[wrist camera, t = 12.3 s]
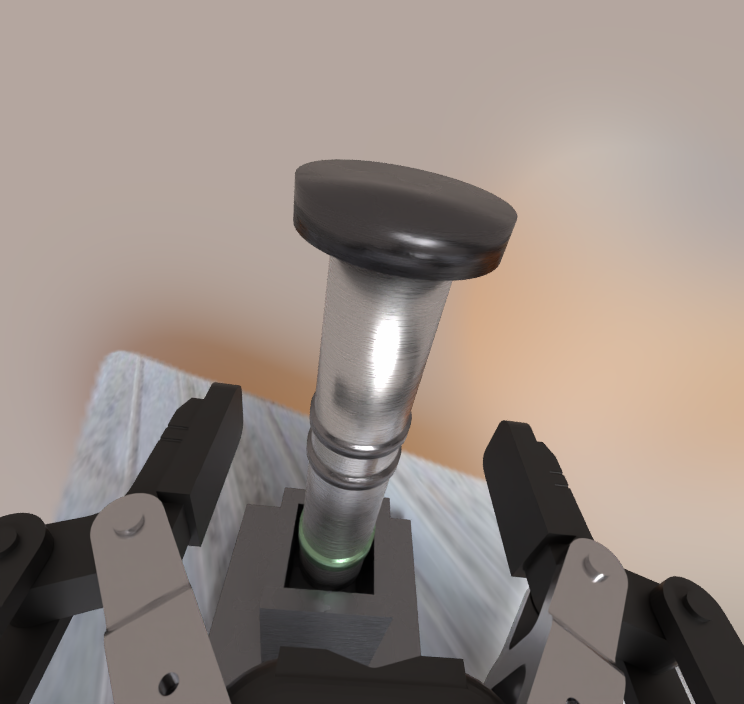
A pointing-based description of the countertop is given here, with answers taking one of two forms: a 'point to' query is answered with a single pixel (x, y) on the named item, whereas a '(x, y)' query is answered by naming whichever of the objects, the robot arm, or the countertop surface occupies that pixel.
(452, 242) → the steel column
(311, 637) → the stand base
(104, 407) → the countertop surface
